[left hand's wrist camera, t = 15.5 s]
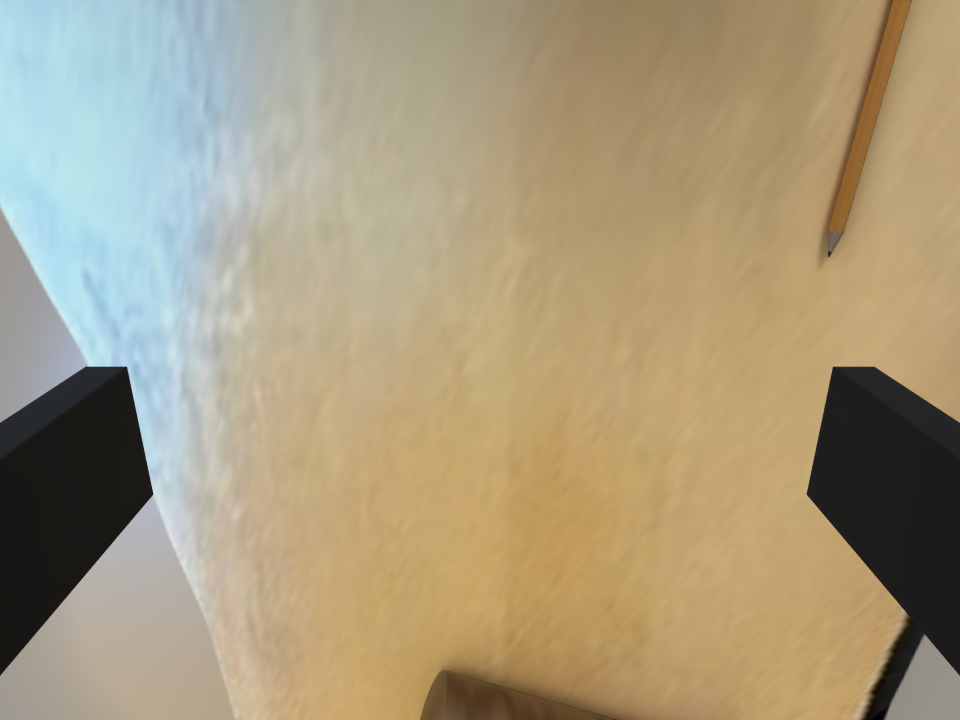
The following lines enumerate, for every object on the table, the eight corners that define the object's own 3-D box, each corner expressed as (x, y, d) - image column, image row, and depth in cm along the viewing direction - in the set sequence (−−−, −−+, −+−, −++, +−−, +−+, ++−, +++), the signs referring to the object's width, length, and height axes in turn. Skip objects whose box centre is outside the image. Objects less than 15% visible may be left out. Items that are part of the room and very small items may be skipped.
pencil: (915, -96, 35) (816, 255, 42) (935, -99, 34) (831, 259, 41) (924, -91, 36) (825, 255, 42) (944, -95, 35) (840, 258, 42)
